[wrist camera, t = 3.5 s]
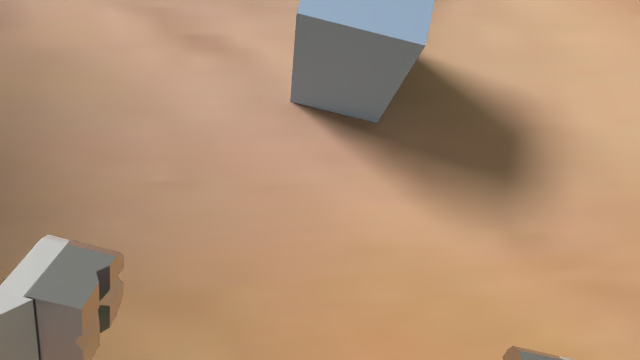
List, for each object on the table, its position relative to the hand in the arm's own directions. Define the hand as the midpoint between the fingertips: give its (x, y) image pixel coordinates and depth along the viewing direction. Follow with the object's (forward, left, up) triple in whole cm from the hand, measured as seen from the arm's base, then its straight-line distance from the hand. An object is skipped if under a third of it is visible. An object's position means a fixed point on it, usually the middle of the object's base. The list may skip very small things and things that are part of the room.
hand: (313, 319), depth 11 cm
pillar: (+11, +4, -14) cm, 18 cm away
